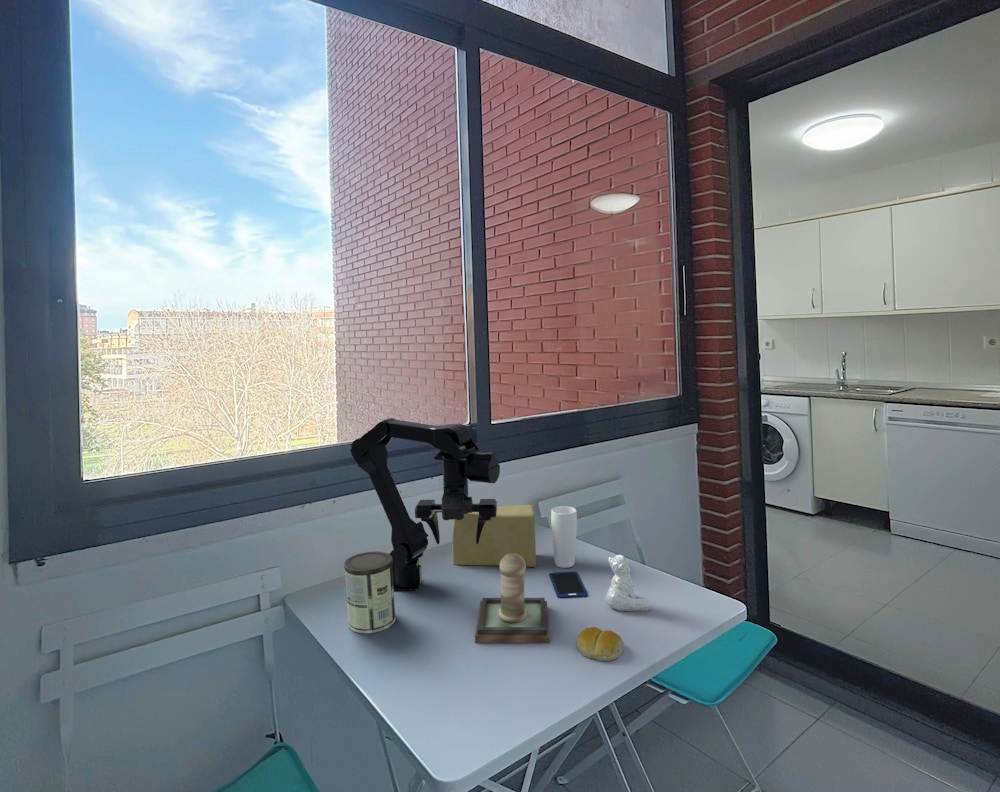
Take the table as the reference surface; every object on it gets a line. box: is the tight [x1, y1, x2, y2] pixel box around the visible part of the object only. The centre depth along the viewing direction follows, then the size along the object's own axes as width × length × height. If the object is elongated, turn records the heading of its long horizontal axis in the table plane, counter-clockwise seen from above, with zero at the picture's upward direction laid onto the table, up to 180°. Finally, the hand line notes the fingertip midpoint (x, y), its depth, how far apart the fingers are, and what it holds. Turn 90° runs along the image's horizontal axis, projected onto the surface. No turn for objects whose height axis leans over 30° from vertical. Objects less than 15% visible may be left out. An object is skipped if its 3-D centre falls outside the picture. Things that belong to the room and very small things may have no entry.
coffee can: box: [343, 551, 396, 634], centre depth 129 cm, size 10×10×14 cm
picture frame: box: [474, 597, 550, 644], centre depth 127 cm, size 15×15×2 cm
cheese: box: [451, 504, 537, 568], centre depth 159 cm, size 22×10×15 cm, turn 91°
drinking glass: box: [550, 505, 578, 569], centre depth 157 cm, size 7×7×15 cm
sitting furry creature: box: [605, 554, 651, 612], centre depth 134 cm, size 10×9×12 cm
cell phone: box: [548, 570, 589, 599], centre depth 146 cm, size 7×14×1 cm, turn 4°
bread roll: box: [576, 626, 625, 662], centre depth 117 cm, size 8×9×4 cm
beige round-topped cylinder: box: [499, 553, 527, 623], centre depth 126 cm, size 6×6×14 cm
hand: (457, 543), depth 139 cm, fingers open, 9 cm apart
